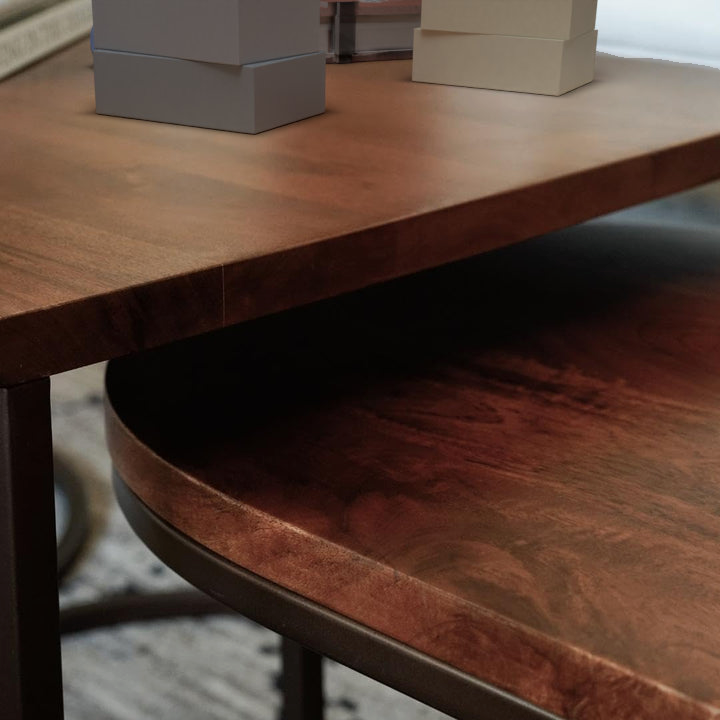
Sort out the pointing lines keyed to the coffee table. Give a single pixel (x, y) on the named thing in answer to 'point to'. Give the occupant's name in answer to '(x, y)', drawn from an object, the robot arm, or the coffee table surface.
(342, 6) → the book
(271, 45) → the grey stack
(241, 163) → the coffee table surface
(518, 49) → the cream stack
